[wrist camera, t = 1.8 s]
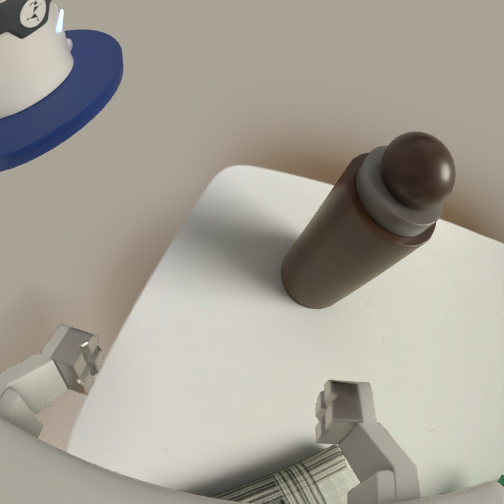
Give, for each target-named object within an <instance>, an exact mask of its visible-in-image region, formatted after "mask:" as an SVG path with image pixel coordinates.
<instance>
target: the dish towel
mask: <svg viewBox="0 0 504 504" xmlns="http://www.w3.org/2000/svg"><path fill="white" fill-rule="evenodd" d="M354 487H356V485H355V483H354V481H353V478H352V476H351V474H350V473H349V470H348V468H347V466H346V464H345V456H344V455H343V453H342V452H341V451H340V450H339V447H338V446H337V445H332V446H330V447H328V448H326V449H324V450H323V451H321V452H319V453H317V454H315V455H313V456H311V457H310V458H308V459H305V460H303V461H301V462H299V463H297V464H295V465H293V466H290V467H288V468H286V469H284V470H281V471H279V472H277V473H274V474H271V475H269V476H266V477H264V478H261V479H259V480H256V481H252V482H250V483H248V484H245V485H243V486H240V487H238V488H236V489H233V490H231V491H226V492H224V493H222V494H219V495H216V496H212V497H210V498H216V499H222V500H228V501H235V502H243V503H251V504H347V492H349V491H350V490H351V489H352V488H354Z"/></svg>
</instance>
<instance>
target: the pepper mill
mask: <svg viewBox="0 0 504 504" xmlns="http://www.w3.org/2000/svg"><path fill="white" fill-rule="evenodd" d="M454 182H455V165H454V161H453V158H452V156H451V154H450V152H449V150H448V149H447V148H446V146H445V145H444V144H443V143H442V142H441V141H439V140H438V139H437V138H435V137H434V136H432V135H429V134H427V133H423V132H408V133H405V134H402V135H400V136H398V137H397V138H395V139H394V140H393V141H392V142H391V143H390V144H389V145H388V146H380V147H377V148H375V149H373V150H372V151H371V152H370V153H365V154H361V155H359V156H357V157H356V158H354V159H353V160H352V161H351V163H350V164H349V165H348V167H347V168H346V170H345V171H344V173H343V174H342V176H341V177H340V179H339V180H338V182H337V183H336V184H335V186H334V187H333V189H332V190H331V192H330V193H329V195H328V196H327V198H326V199H325V200H324V202H323V203H322V205H321V206H320V208H319V209H318V211H317V212H316V214H315V215H314V216H313V218H312V219H311V221H310V222H309V224H308V225H307V227H306V228H305V229H304V231H303V232H302V234H301V235H300V237H299V238H298V239H297V241H296V242H295V244H294V245H293V247H292V248H291V249H290V251H289V252H288V254H287V255H286V257H285V258H284V261H283V264H282V269H281V275H282V281H283V284H284V286H285V289H286V290H287V292H288V293H289V295H290V296H291V297H292V298H293V299H294V300H295V301H296V302H298V303H299V304H301V305H303V306H305V307H308V308H313V309H322V308H326V307H329V306H331V305H333V304H334V303H336V302H338V301H339V300H341V299H342V298H344V297H346V296H347V295H349V294H350V293H352V292H354V291H355V290H357V289H358V288H360V287H361V286H363V285H364V284H366V283H367V282H369V281H371V280H372V279H374V278H375V277H377V276H378V275H380V274H381V273H383V272H384V271H386V270H387V269H389V268H390V267H391V266H393V265H394V264H396V263H397V262H399V261H400V260H402V259H403V258H405V257H406V256H407V255H409V254H410V253H412V252H413V251H415V250H416V249H417V248H419V247H420V246H422V245H423V244H424V243H426V242H427V241H428V240H429V239H430V238H431V236H432V234H433V232H434V230H435V225H436V221H437V220H438V219H439V217H440V215H441V212H442V204H443V203H442V202H443V201H444V200H445V199H446V198H447V197H448V196H449V194H450V193H451V191H452V189H453V186H454Z"/></svg>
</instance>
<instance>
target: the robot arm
mask: <svg viewBox="0 0 504 504" xmlns="http://www.w3.org/2000/svg"><path fill="white" fill-rule="evenodd" d="M62 19H63V10H61V11H60V16H59V12H58V9H57V6H56V5H55V4H53V3H51V0H0V119H2V118H4V117H7V116H10V115H13V114H15V113H18V112H20V111H22V110H24V109H26V108H28V107H30V106H32V105H33V104H35V103H37V102H38V101H40V100H41V99H43V98H44V97H46V96H47V95H48V94H50V93H51V92H52V91H53V90H55V89H56V88H57V87H58V86H59V85H60V84H61V83H62V82H63V81H64V80H65V79H66V78H67V76H68V75H69V73H70V72H71V70H72V68H73V64H74V60H73V57H72V55H71V53H70V51H71V49H72V46H73V44H72V41H71V39H66V36H65V32H64V29H63V26H62ZM98 342H99V340H98V337H97V335H94V334H91V333H88V332H85V331H82V330H79V329H76V328H73V327H70V326H67V325H64V324H61V325H59V326H58V327H57V329H56V330H55V331H54V333H53V334H52V336H51V337H50V339H49V340H48V342H47V343H46V345H45V346H44V348H43V349H42V351H41V352H40V354H38V353H36V354H34V355H32V356H30V357H28V358H26V359H24V360H22V361H21V362H19V363H17V364H15V365H13V366H11V367H9V368H7V369H5V370H4V371H2V372H0V504H251V503H243V502H235V501H228V500H222V499H216V498H210V497H205V496H200V495H195V494H190V493H186V492H181V491H177V490H173V489H169V488H165V487H161V486H158V485H154V484H151V483H147V482H144V481H140V480H137V479H134V478H131V477H128V476H125V475H122V474H119V473H116V472H113V471H111V470H108V469H105V468H103V467H100V466H97V465H95V464H92V463H90V462H87V461H85V460H83V459H80V458H78V457H76V456H73V455H71V454H69V453H67V452H65V451H62V450H60V449H58V448H56V447H54V446H52V445H50V444H48V443H46V442H44V441H42V440H40V439H38V436H39V434H40V432H41V430H42V428H43V424H42V422H41V421H40V420H39V419H38V418H37V416H36V415H35V414H37V413H38V412H39V411H40V410H42V409H43V408H45V407H46V406H47V405H49V404H50V403H52V402H53V401H54V400H56V399H57V398H58V397H60V396H61V395H62V394H64V393H65V392H67V391H68V390H69V389H71V390H74V391H77V392H79V393H82V394H85V395H88V393H89V391H90V389H91V387H92V385H93V383H94V379H93V376H94V375H95V374H97V373H99V371H100V369H101V367H102V362H103V352H102V349H101V348H100V347H99V346H98V345H97V344H98ZM316 417H317V419H318V420H319V423H318V424H317V426H316V443H324V444H339V445H338V446H339V448H340V450H341V451H342V453H343V455H344V456H345V458H346V460H347V461H348V463H349V464H350V466H351V468H352V469H353V471H354V473H355V474H356V476H357V478H358V479H359V481H360V482H361V483H360V484H359V485H357V486H356V487H354V488H352V489H351V490H350V491H349V492H347V504H504V487H503V486H502V485H501V484H500V483H499V482H497V481H489V482H486V483H482V484H479V485H476V486H472V487H469V488H465V489H461V490H457V491H453V492H449V493H445V494H440V495H436V496H431V497H426V498H420V493H419V484H418V476H417V468H416V465H415V464H414V463H413V462H412V461H411V459H410V458H409V457H408V456H407V455H406V453H405V452H404V451H403V450H402V448H401V447H400V446H399V445H398V444H397V442H396V441H395V440H394V439H393V438H392V436H391V435H390V434H389V433H388V431H387V430H386V429H385V428H384V427H383V425H382V424H381V423H377V422H376V415H375V408H374V401H373V394H372V388H371V385H370V383H367V382H355V381H338V380H328V381H326V383H325V385H324V391H322V392H320V394H319V396H318V399H317V403H316Z"/></svg>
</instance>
